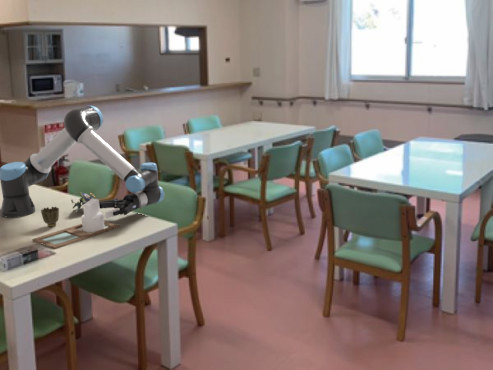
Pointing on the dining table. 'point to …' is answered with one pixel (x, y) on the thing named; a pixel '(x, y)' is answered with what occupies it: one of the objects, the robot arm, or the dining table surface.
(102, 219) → the base with upright slab
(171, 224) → the dining table surface
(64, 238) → the frame with rectangular openings
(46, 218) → the cup
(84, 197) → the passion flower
